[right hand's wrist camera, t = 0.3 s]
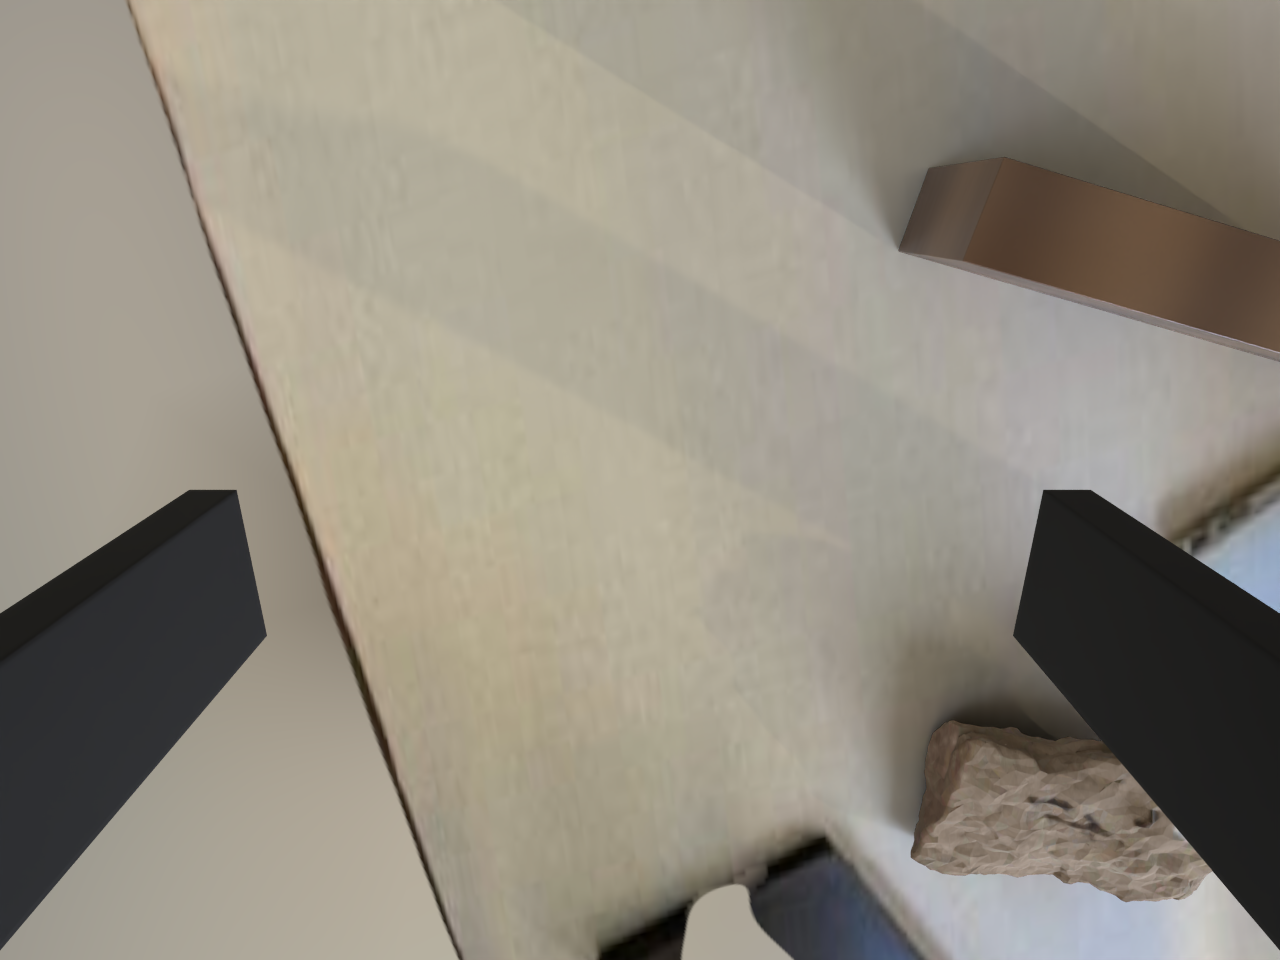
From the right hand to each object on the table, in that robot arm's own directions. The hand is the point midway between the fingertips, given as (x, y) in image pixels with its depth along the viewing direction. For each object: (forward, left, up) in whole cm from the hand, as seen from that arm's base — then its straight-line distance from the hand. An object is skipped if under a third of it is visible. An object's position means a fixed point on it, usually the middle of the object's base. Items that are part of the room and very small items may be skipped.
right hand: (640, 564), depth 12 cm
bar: (-2, +27, -32) cm, 42 cm away
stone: (+34, +30, -32) cm, 56 cm away
